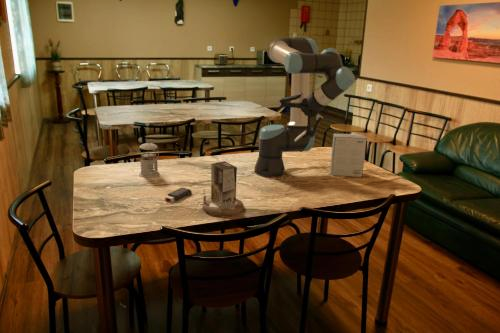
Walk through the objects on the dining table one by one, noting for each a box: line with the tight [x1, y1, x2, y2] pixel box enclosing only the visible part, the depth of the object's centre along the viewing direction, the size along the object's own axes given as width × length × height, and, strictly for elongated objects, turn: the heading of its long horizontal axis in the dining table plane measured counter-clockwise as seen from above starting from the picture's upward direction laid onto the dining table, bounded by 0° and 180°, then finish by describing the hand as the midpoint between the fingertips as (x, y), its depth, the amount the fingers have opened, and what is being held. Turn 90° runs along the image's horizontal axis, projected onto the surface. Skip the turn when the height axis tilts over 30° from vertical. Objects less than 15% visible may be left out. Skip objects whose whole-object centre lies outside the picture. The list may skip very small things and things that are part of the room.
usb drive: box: [164, 187, 192, 203], centre depth 168 cm, size 5×12×3 cm, turn 150°
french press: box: [138, 122, 161, 179], centre depth 190 cm, size 10×12×25 cm
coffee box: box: [210, 161, 238, 209], centre depth 157 cm, size 9×6×16 cm
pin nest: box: [202, 195, 244, 218], centre depth 159 cm, size 16×16×4 cm
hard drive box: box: [329, 133, 368, 178], centre depth 202 cm, size 16×8×20 cm, turn 84°
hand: (285, 127), depth 172 cm, fingers open, 13 cm apart
